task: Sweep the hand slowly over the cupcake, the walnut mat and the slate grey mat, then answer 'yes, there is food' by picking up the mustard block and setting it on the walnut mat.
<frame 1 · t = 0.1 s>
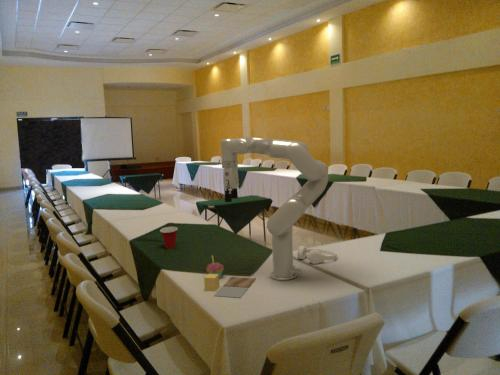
hand: (231, 200, 202), 37 cm above the table, tool pointing down, fingers open, 9 cm apart
cupcake: (215, 277, 202), on the table
plastic cup: (170, 247, 259), on the table
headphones: (317, 259, 224), on the table
grey mat: (231, 292, 183), on the table
mustard block: (212, 288, 188), on the table
walnut mat: (240, 282, 194), on the table
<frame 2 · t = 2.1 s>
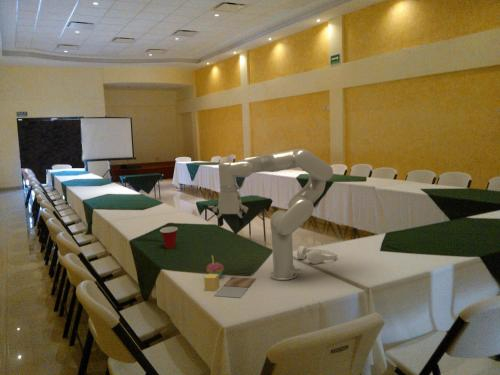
hand: (231, 225, 193), 26 cm above the table, tool pointing down, fingers open, 9 cm apart
nothing on the table moved.
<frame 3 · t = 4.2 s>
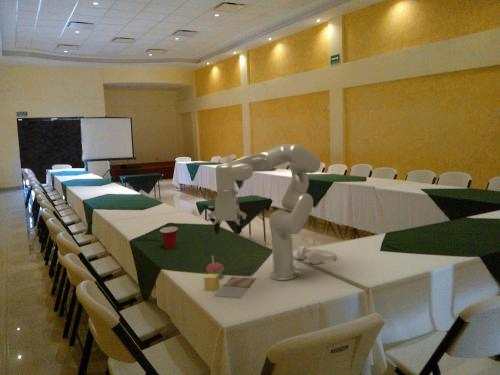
hand: (228, 233, 179), 26 cm above the table, tool pointing down, fingers open, 9 cm apart
nothing on the table moved.
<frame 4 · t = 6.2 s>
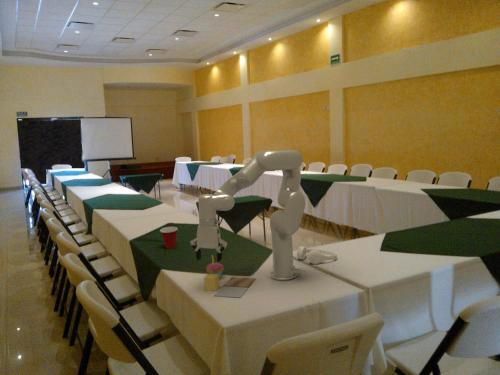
hand: (209, 260, 186), 13 cm above the table, tool pointing down, fingers open, 9 cm apart
nothing on the table moved.
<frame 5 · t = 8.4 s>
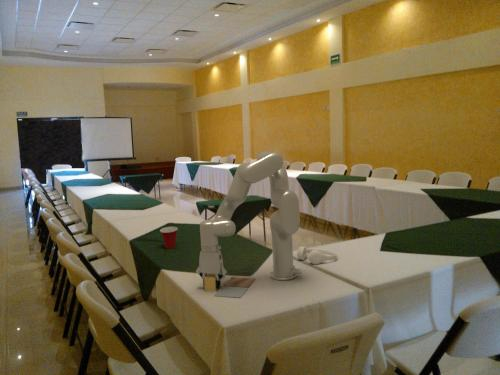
hand: (212, 287, 188), 1 cm above the table, tool pointing down, fingers closed on mustard block, 5 cm apart
mustard block: (212, 288, 188), on the table, touching gripper
everything else where it was.
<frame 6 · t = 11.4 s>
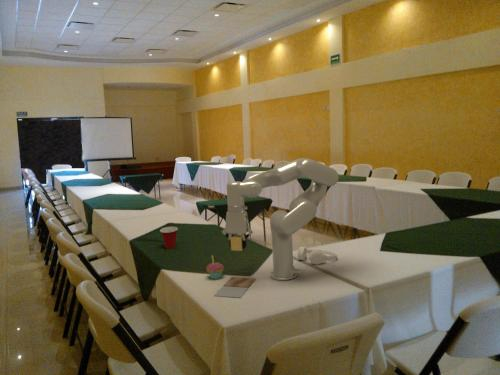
hand: (238, 247, 192), 17 cm above the table, tool pointing down, fingers closed on mustard block, 5 cm apart
mustard block: (238, 249, 192), point 16 cm above the table, touching gripper
when the fingers open (3 cm above the table, at t = 14.6 s): mustard block drops 2 cm, resting on walnut mat.
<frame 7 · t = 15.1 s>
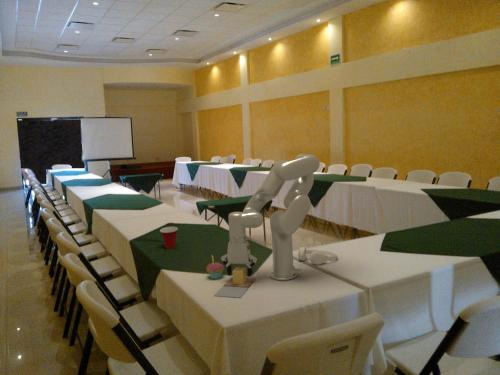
hand: (239, 275, 194), 3 cm above the table, tool pointing down, fingers open, 9 cm apart
mustard block: (239, 281, 194), resting on walnut mat
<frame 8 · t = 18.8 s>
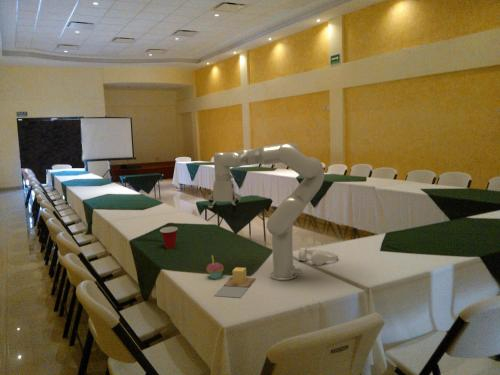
hand: (224, 212, 204), 30 cm above the table, tool pointing down, fingers open, 9 cm apart
at the end: mustard block inside the target area on the walnut mat (0.0 cm from its centre), point 0.3 cm above the walnut mat's base; mustard block tilted 0°; the gripper is holding nothing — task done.
